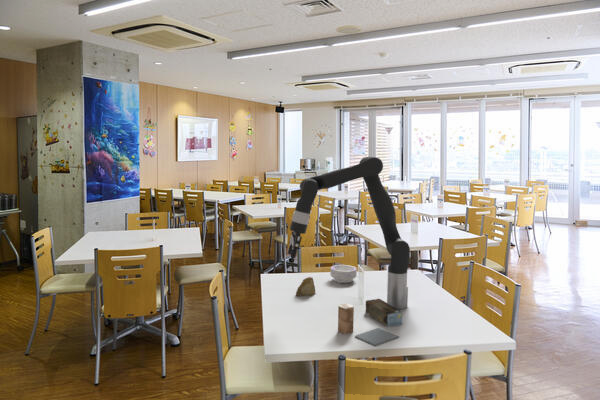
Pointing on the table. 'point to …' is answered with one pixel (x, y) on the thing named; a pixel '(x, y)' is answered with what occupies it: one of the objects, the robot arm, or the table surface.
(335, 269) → the paper bowls
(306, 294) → the rock
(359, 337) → the slate mat
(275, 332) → the table surface
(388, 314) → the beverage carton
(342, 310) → the walnut block
